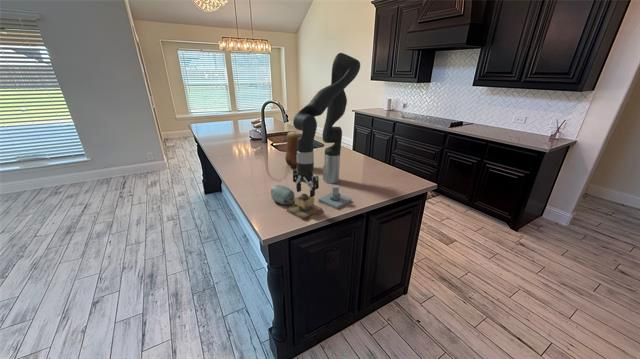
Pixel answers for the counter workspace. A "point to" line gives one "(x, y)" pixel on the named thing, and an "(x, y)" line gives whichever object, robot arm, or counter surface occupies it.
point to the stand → (304, 210)
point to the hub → (335, 198)
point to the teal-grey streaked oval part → (282, 195)
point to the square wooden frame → (304, 203)
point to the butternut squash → (292, 148)
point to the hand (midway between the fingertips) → (305, 194)
